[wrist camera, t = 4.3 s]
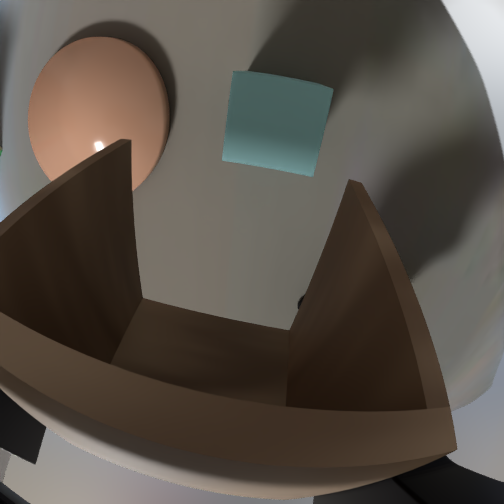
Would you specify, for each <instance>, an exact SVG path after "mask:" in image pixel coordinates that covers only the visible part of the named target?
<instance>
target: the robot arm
mask: <svg viewBox="0 0 504 504" xmlns="http://www.w3.org/2000/svg"><path fill="white" fill-rule="evenodd" d="M302 301H303V299H302V300H300V301H299V302H298V309H299V308H300V306H301V303H302ZM45 430H46V426H45V425H43V424H42V423H41V422H39V421H38V420H37V419H35V418H34V417H33V416H31V415H30V414H29V413H28V412H27V411H25V410H24V409H23V408H22V407H20V406H19V405H18V404H17V403H16V402H15V401H13V400H12V399H11V398H10V397H9V396H8V395H7V394H6V393H5V392H3V391H2V390H1V389H0V504H30V503H28V502H27V501H26V500H24V499H23V498H21V497H20V496H19V495H17V494H16V493H15V492H13V491H12V490H11V489H9V488H8V487H7V486H6V485H4V484H3V483H2V482H3V479H4V475H5V471H6V468H7V465H8V462H9V459H10V456H11V454H13V455H16V456H17V457H20V458H22V459H24V460H26V461H28V462H31V463H33V464H36V461H37V457H38V454H39V450H40V447H41V443H42V440H43V437H44V433H45ZM313 504H504V482H501V481H498V480H495V479H492V478H489V477H487V476H484V475H482V474H479V473H476V472H474V471H471V470H469V469H466V468H464V467H462V466H459V465H457V464H456V463H454V462H453V461H451V460H450V459H449V458H448V457H447V456H446V455H445V456H443V457H441V458H439V459H437V460H434V461H432V462H430V463H428V464H425V465H423V466H420V467H418V468H415V469H413V470H410V471H408V472H405V473H402V474H399V475H396V476H393V477H391V478H387V479H384V480H381V481H378V482H374V483H371V484H367V485H364V486H360V487H356V488H352V489H348V490H343V491H339V492H334V493H329V494H324V495H318V496H314V500H313Z"/></svg>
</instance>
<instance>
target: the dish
mask: <svg viewBox="0 0 504 504" xmlns="http://www.w3.org/2000/svg"><path fill="white" fill-rule="evenodd" d="M169 122H170V110H169V101H168V95H167V91H166V87H165V84H164V81H163V79H162V77H161V75H160V72H159V71H158V69H157V67H156V66H155V64H154V63H153V61H152V60H151V59H150V58H149V57H148V56H147V55H146V53H144V52H143V51H142V50H141V49H139V48H138V47H137V46H135V45H133V44H131V43H130V42H127V41H125V40H122V39H118V38H112V37H89V38H84V39H80V40H77V41H75V42H72V43H70V44H69V45H67V46H65V47H64V48H62V49H61V50H60V51H58V52H57V53H56V54H55V55H54V56H53V57H52V58H51V59H50V60H49V61H48V62H47V64H46V65H45V66H44V68H43V69H42V71H41V73H40V74H39V76H38V78H37V80H36V82H35V85H34V88H33V91H32V94H31V98H30V103H29V110H28V128H29V135H30V141H31V144H32V148H33V151H34V154H35V156H36V158H37V160H38V162H39V164H40V166H41V168H42V169H43V171H44V172H45V174H46V175H47V176H48V178H49V179H50V180H51V181H53V180H55V179H56V178H58V177H59V176H61V175H62V174H63V173H65V172H66V171H68V170H69V169H71V168H72V167H74V166H76V165H77V164H79V163H80V162H82V161H83V160H85V159H87V158H88V157H90V156H92V155H93V154H95V153H97V152H98V151H100V150H102V149H103V148H105V147H107V146H109V145H110V144H112V143H114V142H116V141H117V140H119V139H130V140H132V191H133V190H135V189H136V188H137V187H138V186H139V185H140V184H141V183H142V182H143V181H144V180H145V179H146V178H147V177H148V176H149V175H150V174H151V172H152V171H153V170H154V168H155V167H156V165H157V164H158V162H159V160H160V158H161V156H162V153H163V151H164V148H165V145H166V142H167V137H168V132H169Z"/></svg>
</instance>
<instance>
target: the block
mask: <svg viewBox="0 0 504 504" xmlns="http://www.w3.org/2000/svg"><path fill="white" fill-rule="evenodd" d="M333 90H334V89H332V88H329V87H327V86H324V85H322V84H318V83H314V82H310V81H305V80H300V79H295V78H290V77H285V76H279V75H273V74H267V73H260V72H253V71H233V76H232V83H231V90H230V98H229V105H228V113H227V121H226V130H225V138H224V147H223V156H222V161H228V162H235V163H241V164H247V165H253V166H259V167H265V168H271V169H276V170H281V171H286V172H291V173H296V174H301V175H306V176H311V177H313V174H314V171H315V167H316V163H317V159H318V155H319V150H320V146H321V142H322V138H323V134H324V130H325V125H326V121H327V117H328V112H329V108H330V103H331V99H332V94H333Z"/></svg>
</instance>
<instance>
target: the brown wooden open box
mask: <svg viewBox="0 0 504 504" xmlns="http://www.w3.org/2000/svg"><path fill="white" fill-rule="evenodd" d="M0 389H1V390H2V391H3V392H5V393H6V394H7V395H8V396H9V397H10V398H11V399H12V400H13V401H15V402H16V403H17V404H18V405H19V406H20V407H22V408H23V409H24V410H25V411H27V412H28V413H29V414H30V415H31V416H33V417H34V418H35V419H37V420H38V421H39V422H41V423H42V424H43V425H45V426H46V427H47V428H49V429H50V430H52V431H53V432H54V433H56V434H57V435H59V436H60V437H62V438H63V439H65V440H66V441H68V442H70V443H71V444H73V445H75V446H77V447H79V448H81V449H83V450H85V451H87V452H89V453H91V454H93V455H96V456H98V457H100V458H102V459H105V460H107V461H109V462H112V463H114V464H117V465H119V466H122V467H125V468H127V469H130V470H133V471H136V472H139V473H141V474H144V475H147V476H151V477H154V478H157V479H160V480H164V481H167V482H171V483H175V484H179V485H183V486H187V487H191V488H196V489H201V490H205V491H211V492H216V493H222V494H228V495H235V496H244V497H252V498H263V499H280V500H289V499H297V498H305V497H311V496H318V495H324V494H329V493H334V492H339V491H343V490H348V489H352V488H356V487H360V486H364V485H367V484H371V483H374V482H378V481H381V480H384V479H387V478H391V477H393V476H396V475H399V474H402V473H405V472H408V471H410V470H413V469H415V468H418V467H420V466H423V465H425V464H428V463H430V462H432V461H434V460H437V459H439V458H441V457H443V456H445V455H447V454H449V453H451V452H453V451H455V450H457V443H456V437H455V431H454V425H453V420H452V415H451V410H450V405H449V400H448V396H447V392H446V388H445V384H444V380H443V376H442V372H441V369H440V365H439V362H438V358H437V355H436V352H435V348H434V345H433V342H432V339H431V336H430V333H429V330H428V327H427V324H426V321H425V318H424V316H423V313H422V310H421V307H420V305H419V302H418V300H417V297H416V294H415V292H414V289H413V287H412V284H411V282H410V280H409V277H408V275H407V273H406V270H405V268H404V266H403V263H402V261H401V259H400V257H399V254H398V252H397V250H396V248H395V246H394V244H393V242H392V240H391V237H390V235H389V233H388V231H387V229H386V227H385V225H384V223H383V221H382V219H381V217H380V216H379V214H378V212H377V210H376V208H375V206H374V204H373V202H372V201H371V199H370V197H369V195H368V193H367V191H366V190H365V188H364V186H363V184H362V183H360V182H357V181H353V180H350V179H349V180H348V183H347V186H346V189H345V192H344V195H343V198H342V201H341V203H340V206H339V209H338V212H337V215H336V217H335V220H334V223H333V225H332V228H331V231H330V234H329V236H328V239H327V241H326V244H325V247H324V249H323V252H322V254H321V257H320V259H319V262H318V265H317V267H316V269H315V272H314V274H313V277H312V279H311V282H310V284H309V287H308V289H307V291H306V294H305V296H304V299H303V301H302V303H301V306H300V308H299V310H298V312H297V315H296V317H295V319H294V322H293V324H292V326H291V328H290V330H284V329H278V328H273V327H267V326H262V325H257V324H252V323H247V322H242V321H237V320H232V319H227V318H223V317H218V316H214V315H209V314H205V313H200V312H196V311H192V310H188V309H183V308H179V307H175V306H171V305H167V304H163V303H160V302H156V301H152V300H148V299H145V298H143V297H142V290H141V283H140V275H139V267H138V259H137V249H136V239H135V227H134V213H133V195H132V140H130V139H119V140H117V141H116V142H114V143H112V144H110V145H109V146H107V147H105V148H103V149H102V150H100V151H98V152H97V153H95V154H93V155H92V156H90V157H88V158H87V159H85V160H83V161H82V162H80V163H79V164H77V165H76V166H74V167H72V168H71V169H69V170H68V171H66V172H65V173H63V174H62V175H61V176H59V177H58V178H56V179H55V180H53V181H52V182H51V183H49V184H48V185H46V186H45V187H44V188H42V189H41V190H40V191H38V192H37V193H36V194H34V195H33V196H32V197H30V198H29V199H28V200H27V201H25V202H24V203H23V204H22V205H20V206H19V207H18V208H17V209H16V210H14V211H13V212H12V213H11V214H10V215H8V216H7V217H6V218H5V219H4V220H3V221H2V222H0Z"/></svg>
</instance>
